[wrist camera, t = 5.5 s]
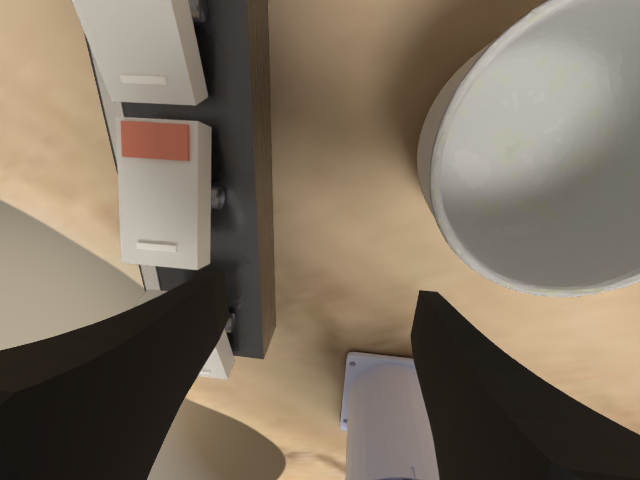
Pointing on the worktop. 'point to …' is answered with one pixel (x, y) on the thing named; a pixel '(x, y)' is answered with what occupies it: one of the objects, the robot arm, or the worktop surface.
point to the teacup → (543, 152)
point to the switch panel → (227, 163)
